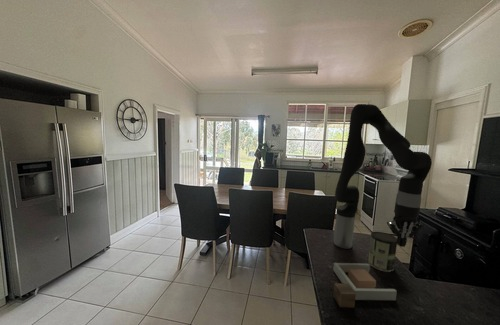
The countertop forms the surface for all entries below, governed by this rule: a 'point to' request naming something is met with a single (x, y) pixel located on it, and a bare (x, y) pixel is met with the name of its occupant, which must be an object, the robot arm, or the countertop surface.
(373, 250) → the coffee can
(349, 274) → the brown rectangular block
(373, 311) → the countertop surface
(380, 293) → the tray
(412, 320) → the countertop surface
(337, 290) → the walnut block
